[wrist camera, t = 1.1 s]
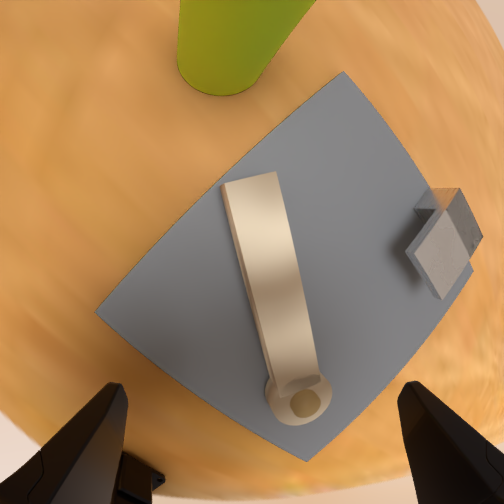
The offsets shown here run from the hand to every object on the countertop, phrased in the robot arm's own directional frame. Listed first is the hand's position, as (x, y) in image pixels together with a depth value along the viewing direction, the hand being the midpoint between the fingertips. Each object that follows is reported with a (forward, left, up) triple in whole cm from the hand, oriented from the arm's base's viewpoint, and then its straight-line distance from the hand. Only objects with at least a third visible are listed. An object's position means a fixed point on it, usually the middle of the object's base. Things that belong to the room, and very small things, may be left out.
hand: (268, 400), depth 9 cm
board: (+6, -6, -12) cm, 15 cm away
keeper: (+14, -9, -12) cm, 21 cm away
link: (+2, -3, -12) cm, 12 cm away
